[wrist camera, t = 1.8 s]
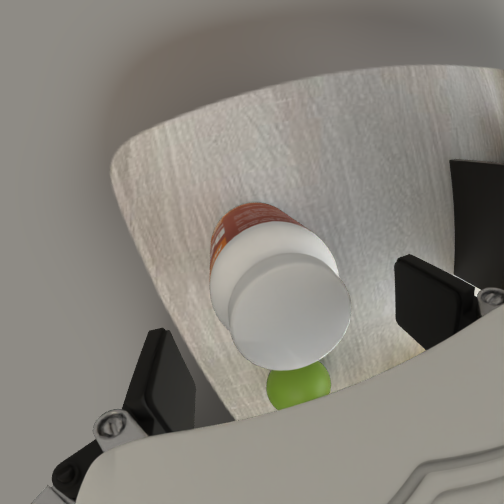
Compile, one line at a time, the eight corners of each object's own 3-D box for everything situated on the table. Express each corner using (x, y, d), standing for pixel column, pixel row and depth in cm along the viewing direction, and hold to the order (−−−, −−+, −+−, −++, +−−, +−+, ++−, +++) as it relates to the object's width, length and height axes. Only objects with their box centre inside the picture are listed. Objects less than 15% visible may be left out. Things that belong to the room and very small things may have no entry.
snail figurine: (336, 364, 25) (391, 457, 13) (278, 395, 25) (309, 497, 14) (315, 326, 23) (379, 431, 12) (250, 362, 23) (276, 479, 12)
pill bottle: (203, 208, 19) (190, 256, 9) (290, 195, 20) (370, 227, 9) (218, 290, 21) (225, 396, 11) (298, 276, 22) (363, 364, 11)
